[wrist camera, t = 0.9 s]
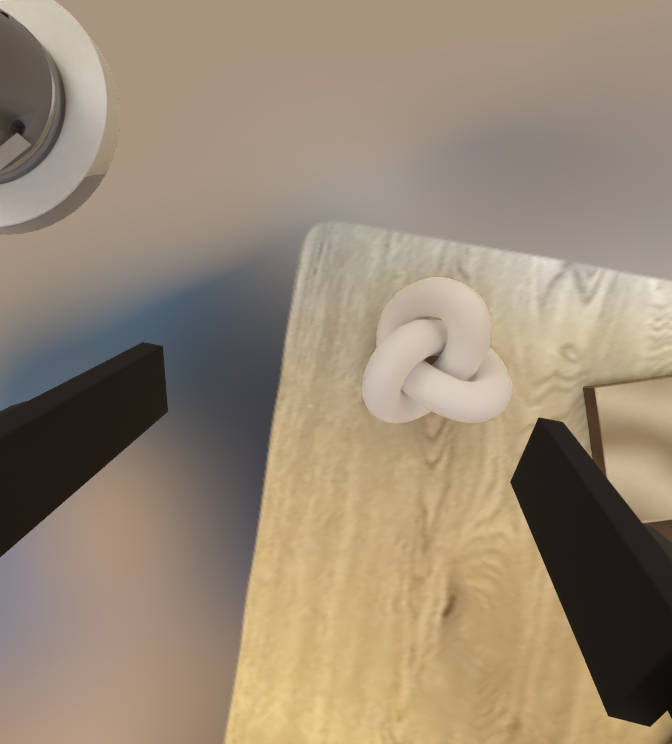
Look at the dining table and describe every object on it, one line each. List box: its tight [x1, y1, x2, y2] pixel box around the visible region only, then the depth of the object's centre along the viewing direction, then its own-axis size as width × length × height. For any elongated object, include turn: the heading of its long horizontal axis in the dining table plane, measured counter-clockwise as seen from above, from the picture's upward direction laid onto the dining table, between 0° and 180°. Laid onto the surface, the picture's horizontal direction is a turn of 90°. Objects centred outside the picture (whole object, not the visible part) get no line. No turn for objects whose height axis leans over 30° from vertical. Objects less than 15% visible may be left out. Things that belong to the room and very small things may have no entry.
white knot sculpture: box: [361, 277, 513, 423], centre depth 29 cm, size 11×12×9 cm
